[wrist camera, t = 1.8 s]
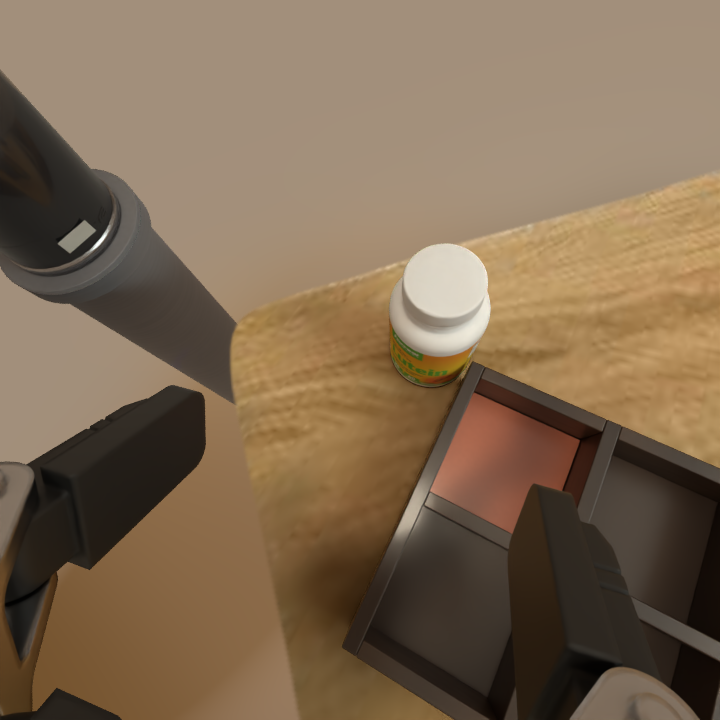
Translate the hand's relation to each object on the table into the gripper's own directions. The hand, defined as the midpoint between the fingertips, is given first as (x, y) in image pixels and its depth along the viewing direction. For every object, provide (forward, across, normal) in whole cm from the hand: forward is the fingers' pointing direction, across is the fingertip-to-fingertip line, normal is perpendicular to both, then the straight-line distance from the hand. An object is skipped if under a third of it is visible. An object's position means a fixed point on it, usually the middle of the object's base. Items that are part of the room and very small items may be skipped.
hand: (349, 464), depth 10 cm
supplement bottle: (+19, -1, +4) cm, 20 cm away
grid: (+12, -10, +12) cm, 20 cm away
